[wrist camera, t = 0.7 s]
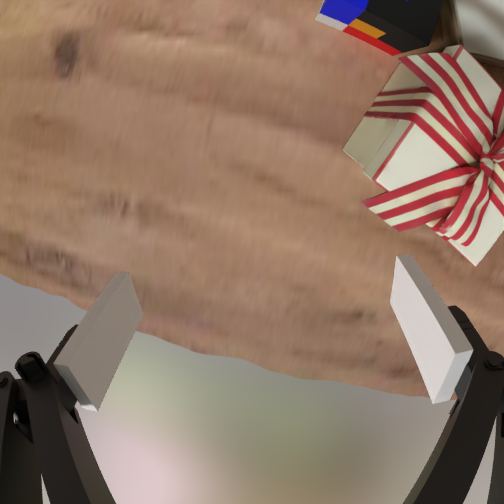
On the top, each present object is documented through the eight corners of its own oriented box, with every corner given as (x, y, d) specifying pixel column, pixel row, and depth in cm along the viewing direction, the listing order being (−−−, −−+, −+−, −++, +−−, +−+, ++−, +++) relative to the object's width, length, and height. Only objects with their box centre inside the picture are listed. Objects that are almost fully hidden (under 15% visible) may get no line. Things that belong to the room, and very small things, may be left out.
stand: (427, -36, 22) (440, -45, 19) (503, -12, 21) (518, -17, 17) (445, 56, 29) (461, 54, 25) (518, 71, 27) (535, 73, 24)
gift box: (372, 40, 29) (440, 8, 14) (480, 124, 32) (569, 152, 17) (309, 157, 37) (335, 202, 21) (423, 225, 39) (487, 295, 24)
